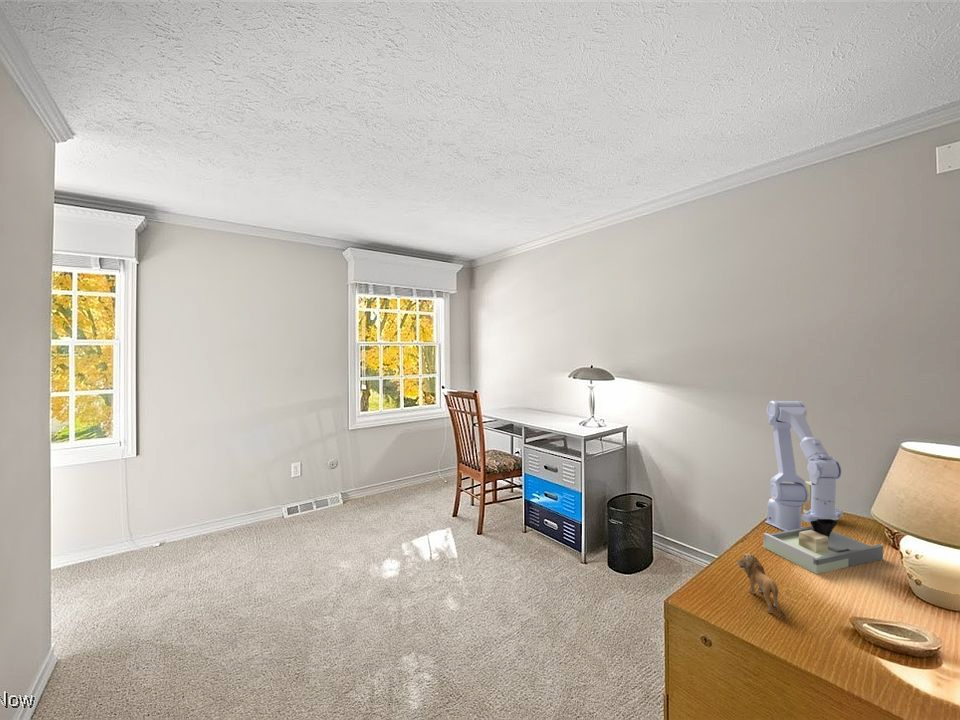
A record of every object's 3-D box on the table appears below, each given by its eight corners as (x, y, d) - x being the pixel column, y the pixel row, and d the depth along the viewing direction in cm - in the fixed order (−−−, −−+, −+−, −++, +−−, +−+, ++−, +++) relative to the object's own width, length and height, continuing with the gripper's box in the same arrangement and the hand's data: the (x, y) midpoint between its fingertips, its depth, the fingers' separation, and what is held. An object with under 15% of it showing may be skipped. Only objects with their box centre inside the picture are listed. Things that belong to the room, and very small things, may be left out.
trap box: (763, 547, 133) (763, 533, 133) (825, 535, 140) (825, 522, 140) (816, 574, 117) (816, 558, 117) (882, 559, 125) (883, 544, 125)
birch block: (798, 544, 129) (798, 532, 129) (810, 542, 131) (810, 529, 130) (815, 552, 124) (816, 539, 124) (827, 549, 126) (828, 536, 126)
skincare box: (820, 512, 159) (820, 480, 158) (828, 517, 154) (829, 484, 154) (801, 512, 159) (802, 480, 159) (809, 517, 155) (810, 484, 155)
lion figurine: (733, 583, 113) (734, 550, 113) (752, 582, 114) (753, 550, 113) (774, 619, 99) (775, 582, 98) (796, 618, 99) (797, 581, 99)
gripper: (819, 506, 122) (818, 551, 123) (854, 500, 126) (853, 544, 127) (795, 497, 129) (794, 540, 130) (829, 492, 133) (828, 534, 134)
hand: (821, 542), depth 129 cm, fingers closed
